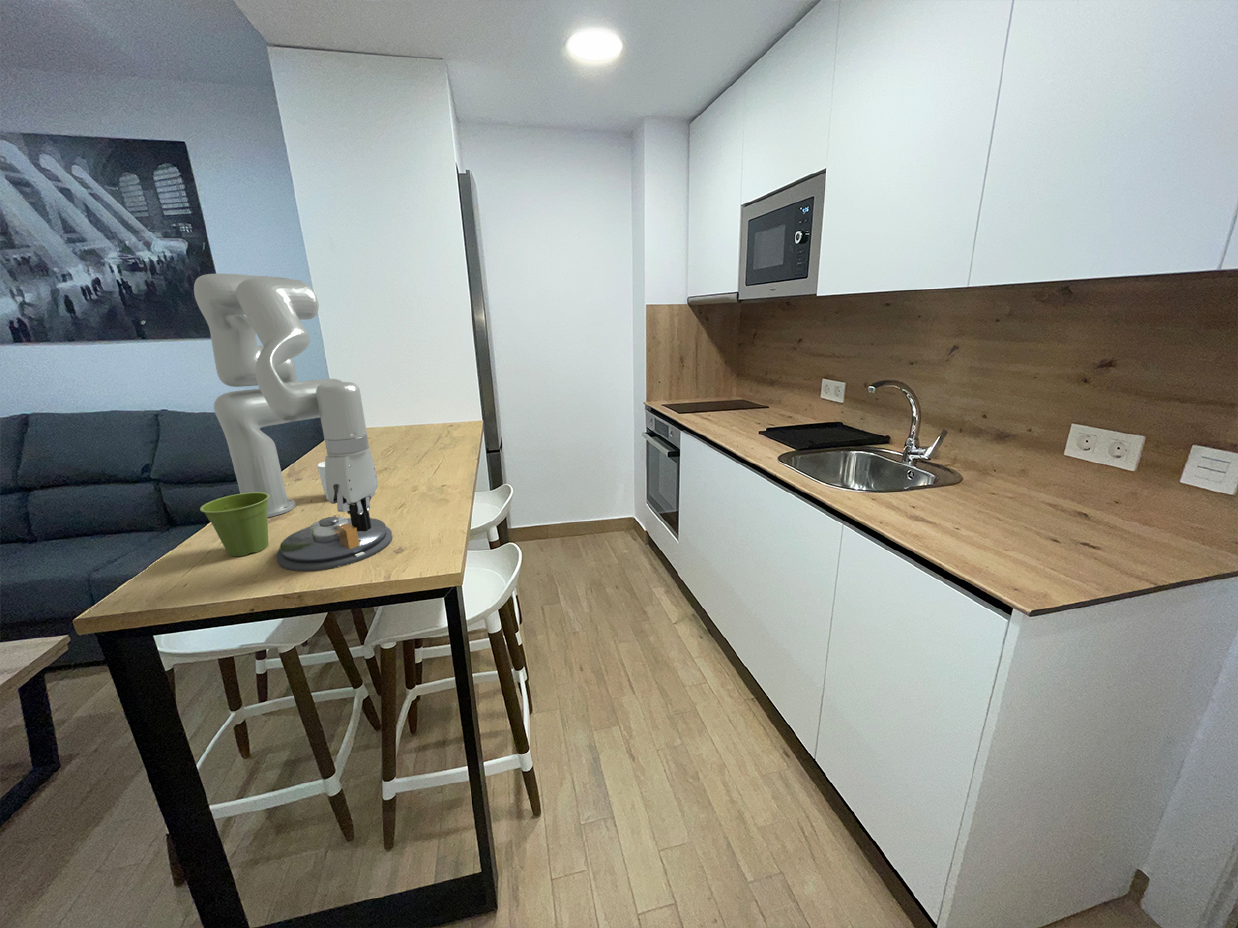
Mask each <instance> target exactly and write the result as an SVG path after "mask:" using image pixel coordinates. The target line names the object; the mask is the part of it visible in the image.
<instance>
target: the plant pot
mask: <svg viewBox="0 0 1238 928" xmlns="http://www.w3.org/2000/svg"><path fill="white" fill-rule="evenodd" d="M269 497H270V495H269V494H268V493H264V492H250V493H241V494H240V493H236V494H232V495H226V496H224V497H223V496H222V497H219V498H216V499H214V500H211V501H209V502H206V503H204V504H203V505H201V506H200V508H199V509H200V512H201V513H204V514H205V515H206V517H207V519H208V521H209V522H210V523H211V525H212V526H213V528H214V530H215V532H216V534H217V535H218V538H219V539H220V541H221V543H222V545H223V547H224V549H225V551H226V553H227V554H228V555H229V556H230V557H231V556H232V557H245V556H248V555H249V554H251V553H258V552H261V551H262V550H264V549H266V548H267V547H268V546H269V527H268V517H267V508H268V499H269Z"/></svg>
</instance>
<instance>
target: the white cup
mask: <svg viewBox="0 0 1238 928" xmlns="http://www.w3.org/2000/svg"><path fill="white" fill-rule="evenodd" d="M316 466H317V470H318V471H317V472H318V475H319V478H320V482H321V485H322V488H323V491H324V494H325V497H326V499H325V500H327V501H329V499H328V494H327V487H326V477H325V461H323V462H319V463H318V464H317V465H316Z"/></svg>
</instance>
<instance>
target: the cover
mask: <svg viewBox="0 0 1238 928" xmlns="http://www.w3.org/2000/svg"><path fill="white" fill-rule="evenodd" d="M346 523H348V519H347V517H344V516H343V517H341V516H340V517H339V516H327V517H325V518H321V519H320V520H317V521H316V522H313V523H312V524H311V525H310V526H309V527H310V528H311V533H312V538H313V541H314V542H316V543H330V542H335V541H338V540H341V539H340V534H339V528H338V526H340V525H343V524H346Z"/></svg>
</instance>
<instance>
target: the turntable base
mask: <svg viewBox="0 0 1238 928" xmlns="http://www.w3.org/2000/svg"><path fill="white" fill-rule="evenodd" d="M386 531H387V534H386V536H385V538H384V539H383V540H382V541H381V542H379V543H378V544H377V545H375V546H373V547H371V548H369V549H367V550H365V551H363V552H360V553H357V554H354V555H351V556H348V557H344V558H340V559H336V560H330V561H324V562H314V563H299V562H292V561H289V560H286V559H285V558H283V556H282V554H281V549H280V548H279V549H278V550H277V552H276V554H275V557H276V563H277V562H278V563H277V565H278V564H279V565H278V566H279V567H281V568H283V569H286V570H287V571H288V570H290V571H294V572H296V571H297V572H314V571H323V570H331V569H335V567H336V568H339V567H338V566H341V567H344V566H343V565H345V566H348V565H351V563H352V564H355V563H358V562H362V561H363V560H365V559H368V558H371V557H372V556H375V555H377V554H378V553H380V552H381V551H383V550H385V549H386V548H387V547H389V545H390V544H391V543H392V540H393V533H392V529H391V528H389V526H386ZM354 562H355V563H354ZM347 564H348V565H347Z"/></svg>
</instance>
